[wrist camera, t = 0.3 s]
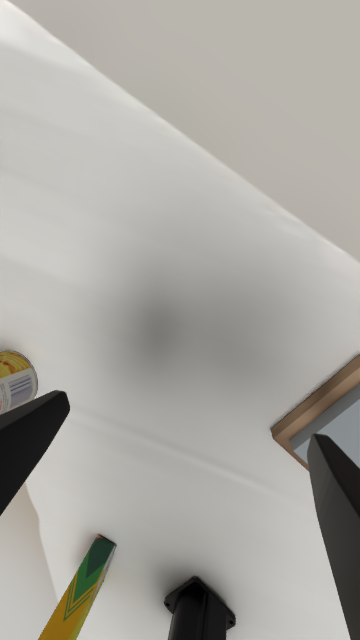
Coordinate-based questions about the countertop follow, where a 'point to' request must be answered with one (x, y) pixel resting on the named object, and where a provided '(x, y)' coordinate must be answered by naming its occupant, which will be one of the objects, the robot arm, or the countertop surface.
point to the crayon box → (80, 593)
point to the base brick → (316, 406)
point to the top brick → (335, 427)
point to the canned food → (16, 381)
